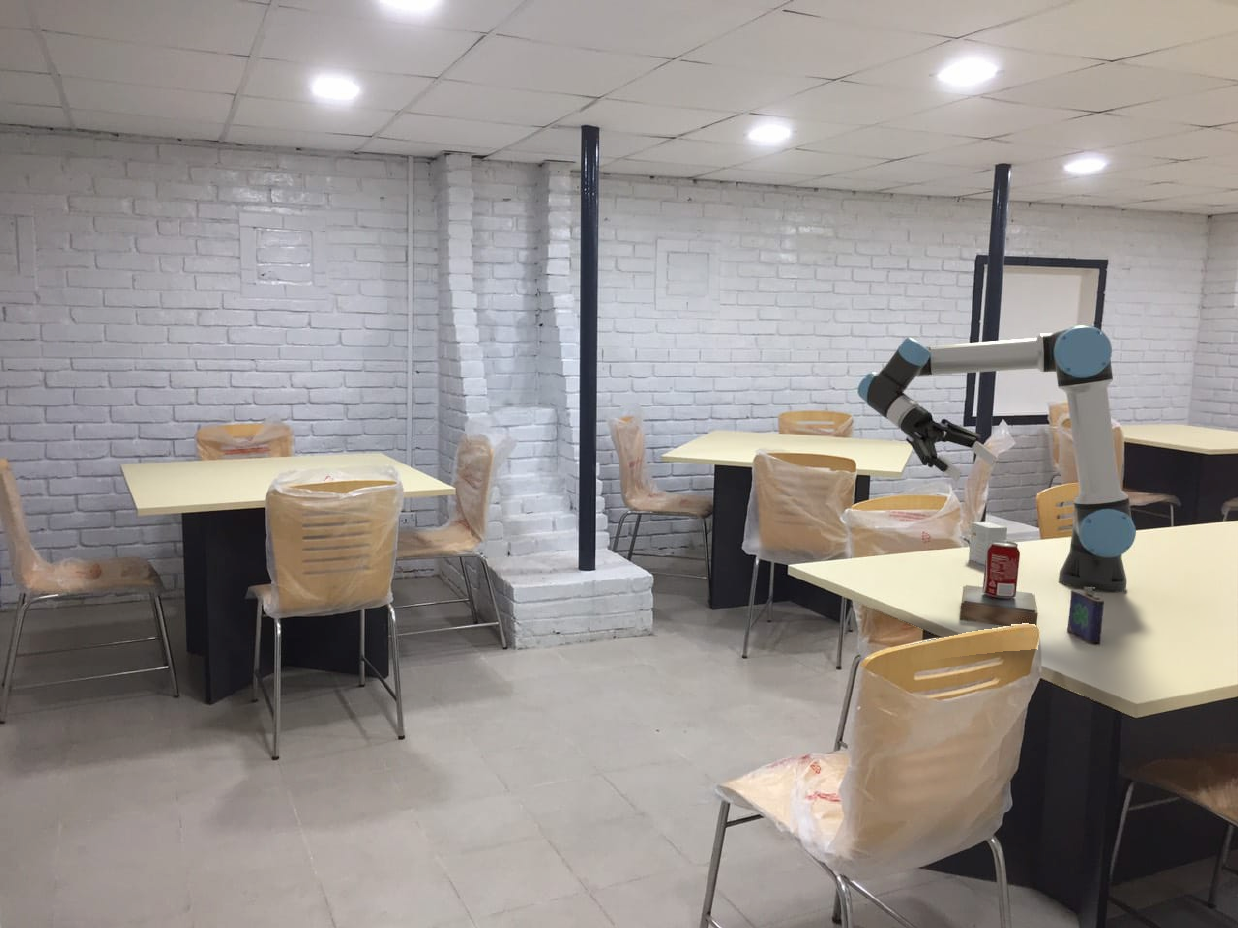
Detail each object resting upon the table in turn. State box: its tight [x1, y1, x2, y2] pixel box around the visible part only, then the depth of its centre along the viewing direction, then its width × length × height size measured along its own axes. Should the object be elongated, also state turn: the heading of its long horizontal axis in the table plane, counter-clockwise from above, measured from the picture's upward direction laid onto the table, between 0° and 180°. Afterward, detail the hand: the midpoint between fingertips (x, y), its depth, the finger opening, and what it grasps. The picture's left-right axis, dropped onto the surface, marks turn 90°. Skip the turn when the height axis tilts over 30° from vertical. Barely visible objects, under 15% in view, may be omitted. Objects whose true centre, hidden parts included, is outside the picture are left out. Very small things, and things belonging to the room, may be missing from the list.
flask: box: [1066, 587, 1105, 646], centre depth 197 cm, size 9×3×11 cm, turn 8°
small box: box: [968, 521, 1008, 566], centre depth 262 cm, size 8×6×10 cm
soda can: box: [982, 540, 1021, 600], centre depth 210 cm, size 7×7×12 cm
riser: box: [959, 584, 1039, 626], centre depth 212 cm, size 15×16×4 cm
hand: (977, 469), depth 225 cm, fingers open, 13 cm apart
